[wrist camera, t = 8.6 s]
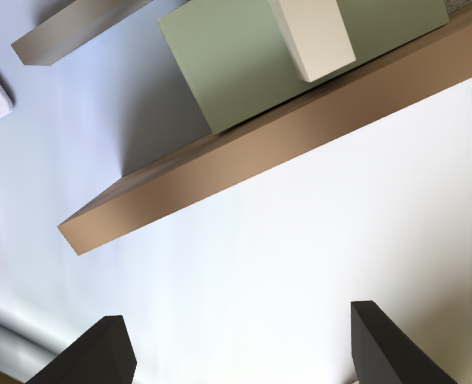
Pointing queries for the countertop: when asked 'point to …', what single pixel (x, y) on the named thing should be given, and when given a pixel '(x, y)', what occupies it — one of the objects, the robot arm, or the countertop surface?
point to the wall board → (254, 128)
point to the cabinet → (282, 46)
